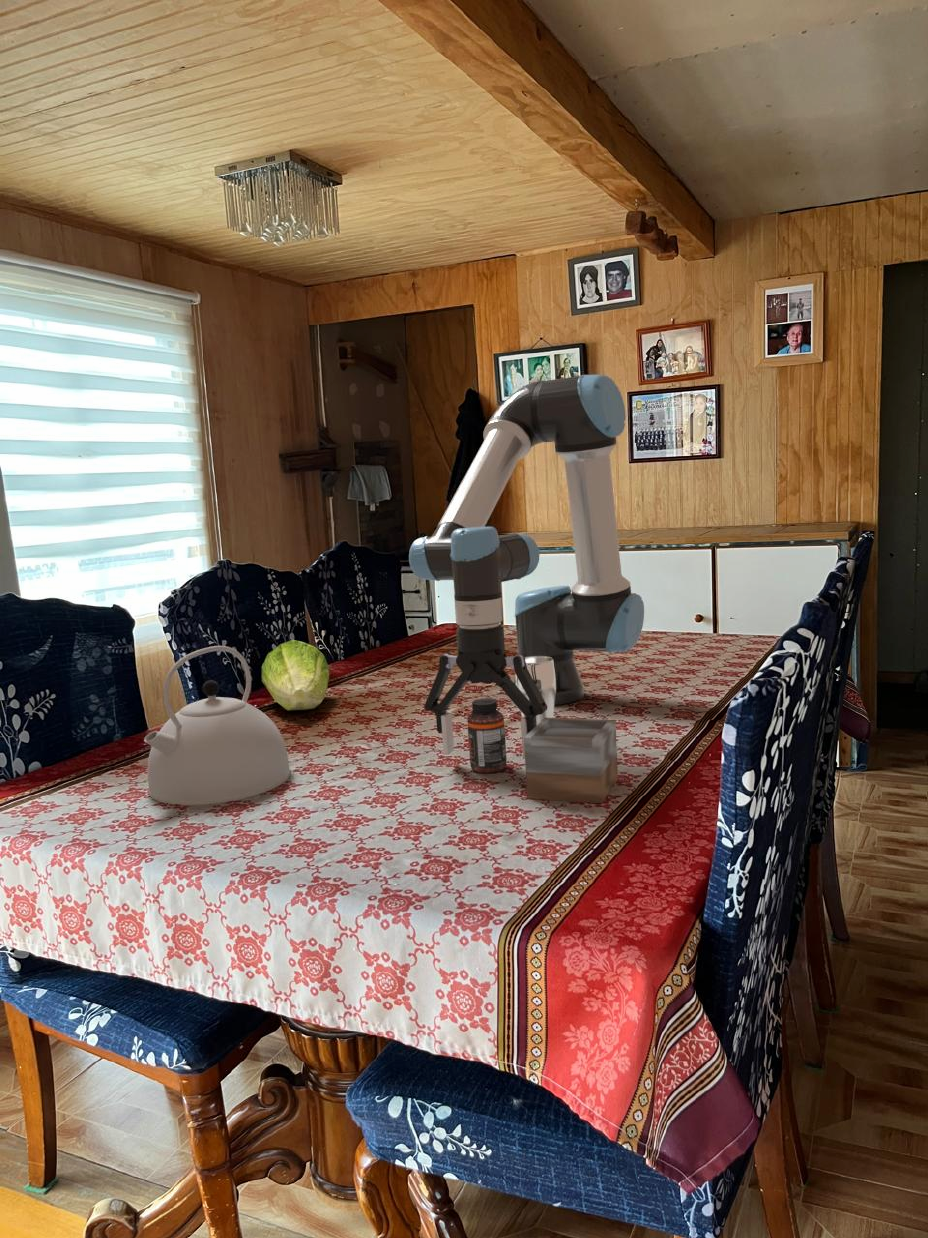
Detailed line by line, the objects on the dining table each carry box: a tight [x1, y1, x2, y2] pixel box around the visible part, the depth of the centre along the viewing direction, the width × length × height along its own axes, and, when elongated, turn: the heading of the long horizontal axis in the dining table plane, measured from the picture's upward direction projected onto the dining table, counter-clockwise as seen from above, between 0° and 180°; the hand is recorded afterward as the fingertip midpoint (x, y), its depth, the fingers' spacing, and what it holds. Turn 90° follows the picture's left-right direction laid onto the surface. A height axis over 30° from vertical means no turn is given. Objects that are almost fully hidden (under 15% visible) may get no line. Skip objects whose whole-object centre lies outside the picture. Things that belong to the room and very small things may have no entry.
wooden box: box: [524, 717, 619, 804], centre depth 138 cm, size 11×11×9 cm
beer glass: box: [516, 656, 556, 725], centre depth 163 cm, size 7×7×15 cm
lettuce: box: [261, 639, 330, 711], centre depth 200 cm, size 14×24×15 cm
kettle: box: [143, 645, 291, 806], centre depth 152 cm, size 25×23×22 cm
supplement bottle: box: [466, 697, 507, 774], centre depth 151 cm, size 6×6×11 cm
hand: (487, 754), depth 151 cm, fingers open, 13 cm apart
